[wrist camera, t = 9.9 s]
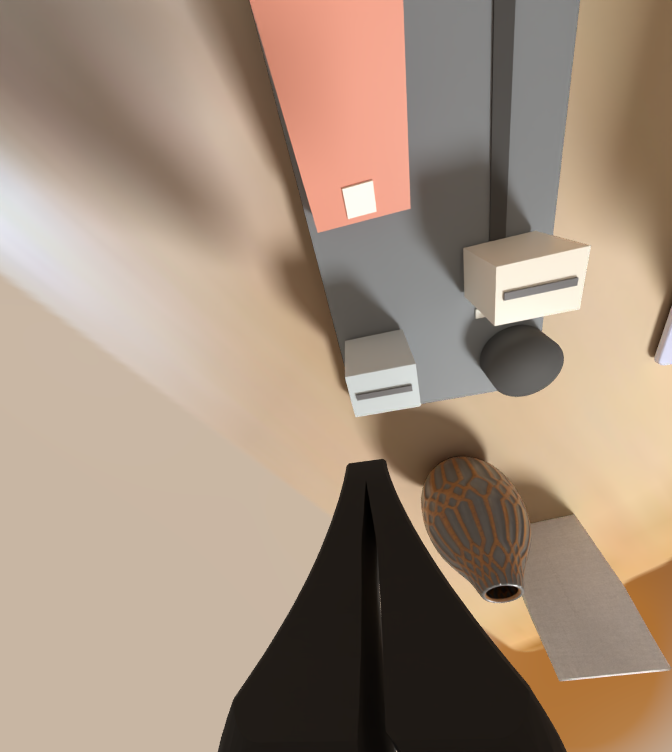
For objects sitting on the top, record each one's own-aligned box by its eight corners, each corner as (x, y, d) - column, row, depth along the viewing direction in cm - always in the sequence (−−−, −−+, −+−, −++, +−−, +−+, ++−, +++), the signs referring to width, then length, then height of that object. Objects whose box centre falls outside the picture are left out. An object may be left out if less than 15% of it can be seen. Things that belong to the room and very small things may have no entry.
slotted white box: (402, 328, 17) (416, 365, 14) (407, 366, 18) (421, 407, 15) (344, 340, 17) (345, 378, 14) (353, 376, 19) (355, 418, 15)
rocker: (390, -81, 8) (401, -84, 7) (403, 193, 14) (411, 209, 13) (248, -25, 9) (243, -21, 8) (316, 216, 14) (317, 234, 13)
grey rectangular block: (496, 530, 30) (557, 671, 21) (574, 513, 28) (674, 659, 19) (502, 550, 31) (561, 688, 23) (576, 535, 30) (668, 677, 21)
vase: (461, 509, 28) (503, 628, 21) (397, 483, 26) (418, 603, 19) (520, 462, 25) (595, 584, 17) (451, 429, 23) (501, 548, 16)
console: (570, -153, 10) (628, -239, 8) (523, 371, 20) (543, 392, 18) (248, -26, 12) (227, -69, 9) (356, 401, 22) (357, 423, 20)
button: (550, 318, 17) (568, 330, 15) (542, 374, 18) (558, 390, 17) (479, 332, 17) (491, 345, 16) (479, 385, 19) (490, 401, 18)
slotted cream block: (535, 230, 14) (592, 246, 11) (530, 282, 16) (581, 309, 12) (463, 247, 15) (497, 267, 11) (464, 296, 16) (495, 327, 13)
